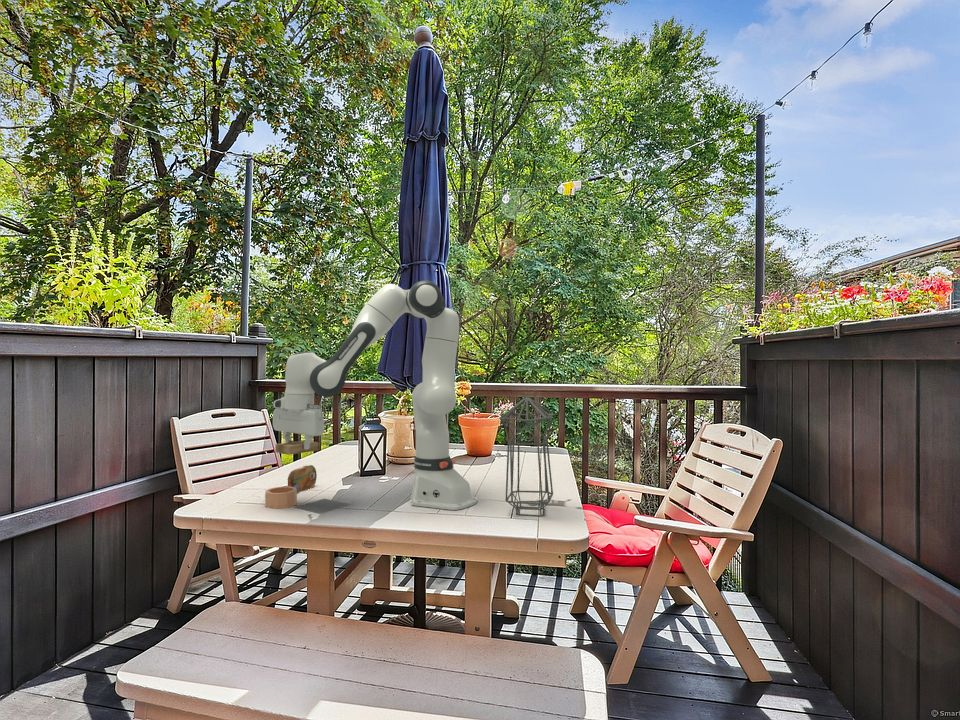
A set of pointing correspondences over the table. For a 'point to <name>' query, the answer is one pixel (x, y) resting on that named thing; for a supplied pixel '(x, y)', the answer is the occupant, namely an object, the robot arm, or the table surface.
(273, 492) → the bowl
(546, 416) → the geometric lantern
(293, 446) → the cover board
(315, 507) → the mat
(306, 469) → the brown mottled rounded slab
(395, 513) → the table surface
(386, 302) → the robot arm
